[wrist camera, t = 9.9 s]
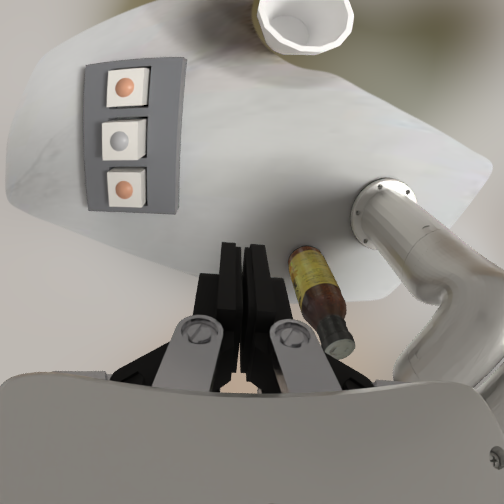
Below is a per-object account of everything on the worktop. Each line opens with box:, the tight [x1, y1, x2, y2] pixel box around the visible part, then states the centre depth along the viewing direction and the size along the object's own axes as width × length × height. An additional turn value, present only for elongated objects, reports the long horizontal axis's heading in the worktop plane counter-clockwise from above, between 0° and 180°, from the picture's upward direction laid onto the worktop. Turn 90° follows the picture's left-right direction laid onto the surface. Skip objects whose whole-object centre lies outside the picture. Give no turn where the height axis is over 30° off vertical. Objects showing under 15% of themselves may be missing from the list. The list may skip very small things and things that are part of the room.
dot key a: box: [107, 167, 147, 208], centre depth 39 cm, size 5×5×4 cm
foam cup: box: [257, 0, 354, 55], centre depth 26 cm, size 10×9×13 cm
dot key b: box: [107, 68, 151, 107], centre depth 32 cm, size 5×5×4 cm
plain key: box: [102, 119, 147, 160], centre depth 34 cm, size 5×5×4 cm
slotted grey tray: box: [83, 57, 187, 215], centre depth 37 cm, size 14×22×3 cm, turn 174°
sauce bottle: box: [288, 246, 355, 360], centre depth 41 cm, size 7×6×20 cm
